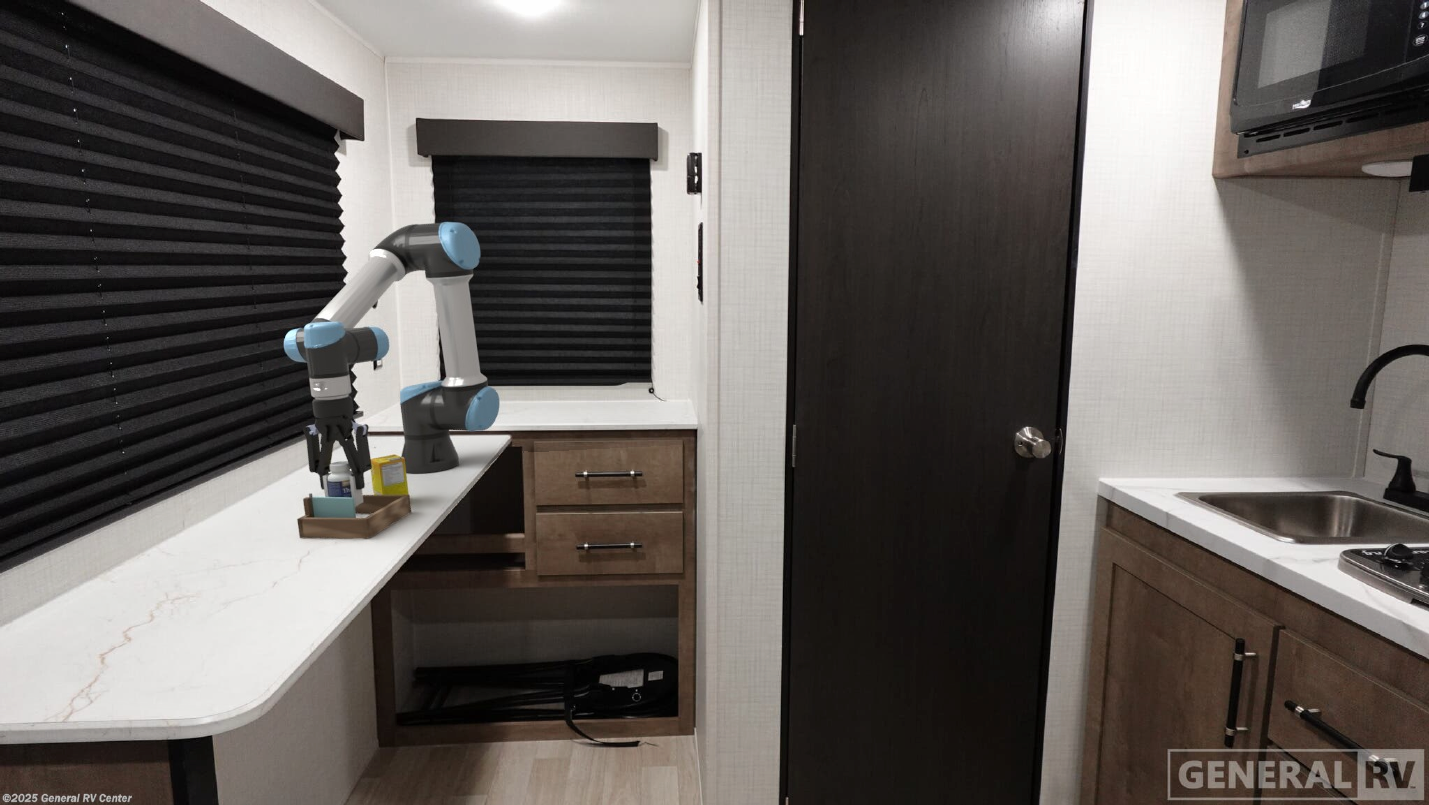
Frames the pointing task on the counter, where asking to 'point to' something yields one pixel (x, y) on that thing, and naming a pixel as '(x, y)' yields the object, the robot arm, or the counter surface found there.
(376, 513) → the wooden square frame
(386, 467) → the supplement box
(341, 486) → the pill bottle
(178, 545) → the counter surface
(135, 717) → the counter surface
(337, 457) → the counter surface
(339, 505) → the teal rectangular panel
